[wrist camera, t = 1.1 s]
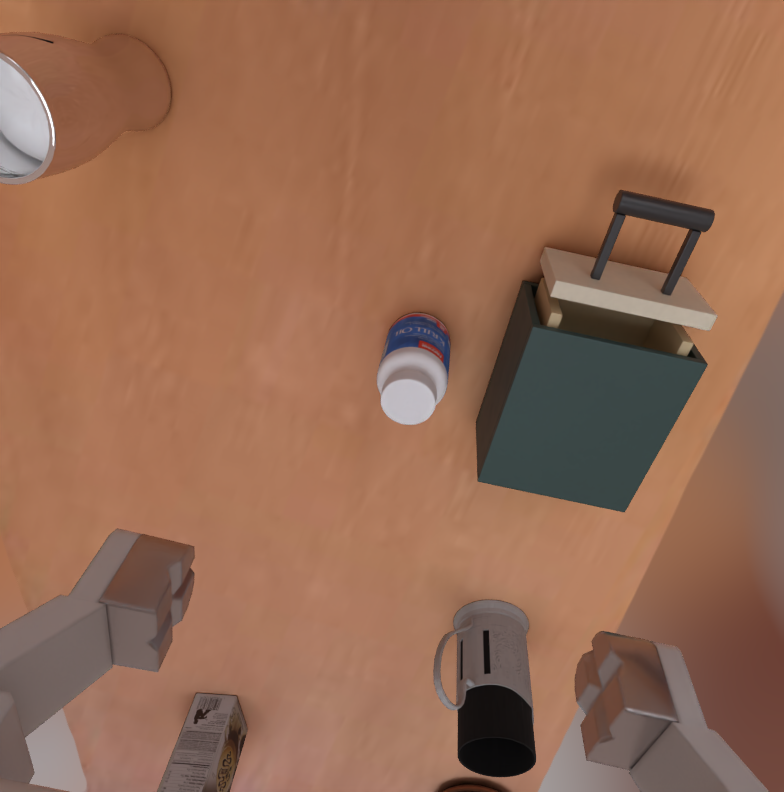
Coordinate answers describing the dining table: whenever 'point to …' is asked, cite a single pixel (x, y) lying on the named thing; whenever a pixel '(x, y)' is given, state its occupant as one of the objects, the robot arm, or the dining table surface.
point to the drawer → (628, 285)
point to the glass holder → (491, 689)
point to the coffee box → (207, 746)
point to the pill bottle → (414, 368)
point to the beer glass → (73, 100)
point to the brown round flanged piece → (469, 789)
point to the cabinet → (577, 411)
